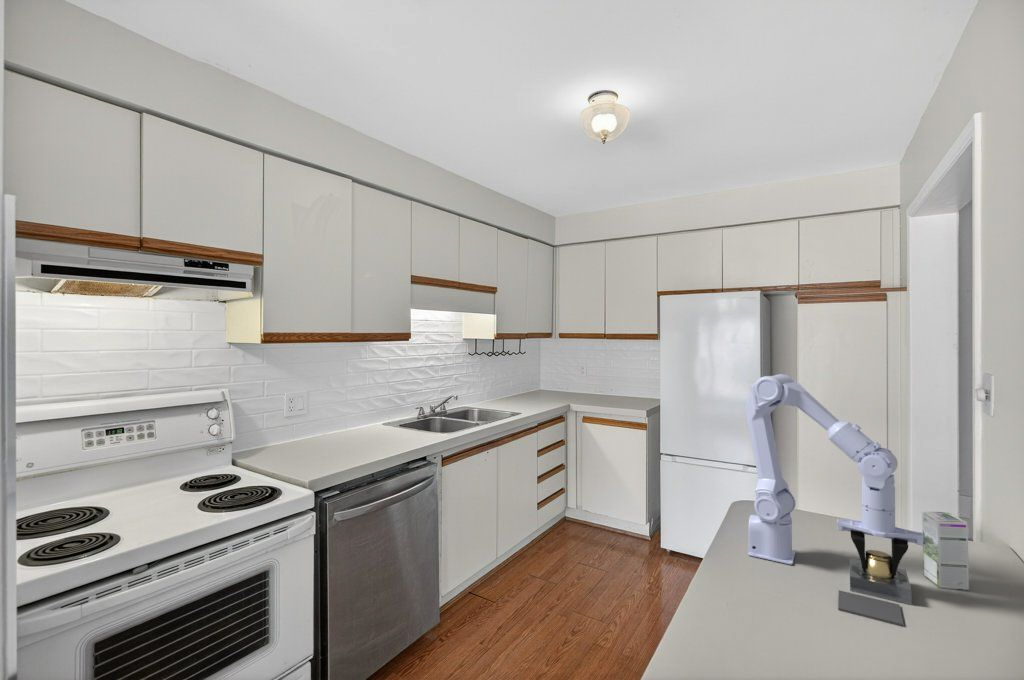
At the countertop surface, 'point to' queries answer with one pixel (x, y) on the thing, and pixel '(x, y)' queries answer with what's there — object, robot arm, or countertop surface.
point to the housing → (880, 584)
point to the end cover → (878, 564)
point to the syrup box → (945, 550)
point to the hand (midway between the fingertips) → (878, 570)
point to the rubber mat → (870, 608)
